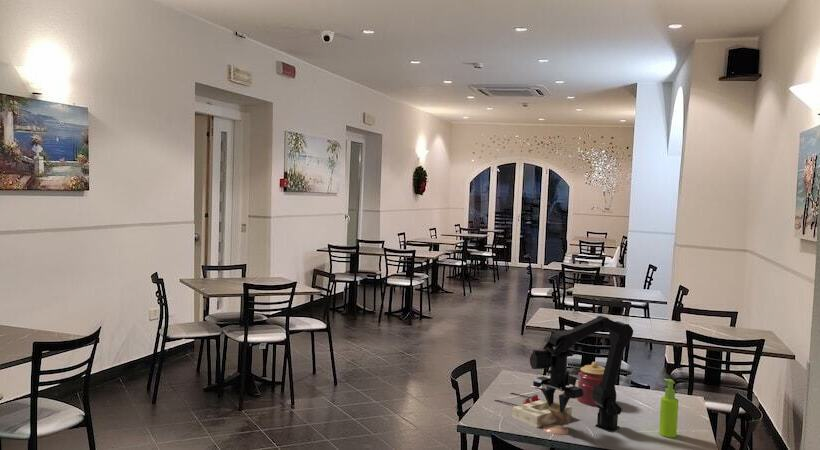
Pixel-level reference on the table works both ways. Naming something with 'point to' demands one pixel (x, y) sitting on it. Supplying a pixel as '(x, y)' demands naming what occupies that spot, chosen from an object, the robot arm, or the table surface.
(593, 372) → the canister
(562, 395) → the robot arm
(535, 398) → the glasses
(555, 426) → the terracotta coaster
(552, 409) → the walnut slab
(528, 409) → the cream wooden tray
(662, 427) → the soap dispenser
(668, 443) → the table surface
